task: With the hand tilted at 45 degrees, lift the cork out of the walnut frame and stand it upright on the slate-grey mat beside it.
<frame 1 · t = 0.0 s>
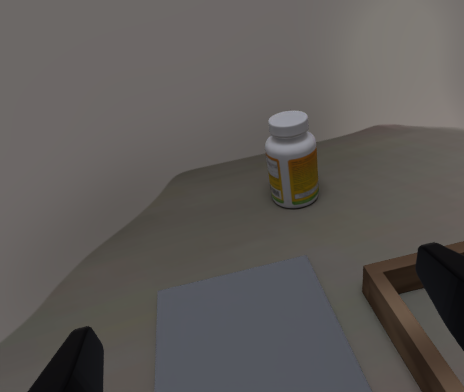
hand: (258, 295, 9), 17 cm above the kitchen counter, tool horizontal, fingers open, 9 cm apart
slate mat: (247, 343, 27), on the kitchen counter
supplement bottle: (295, 197, 41), on the kitchen counter
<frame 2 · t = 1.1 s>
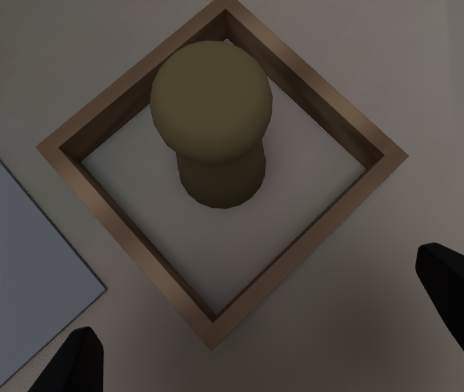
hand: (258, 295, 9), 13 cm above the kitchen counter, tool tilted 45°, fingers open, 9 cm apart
walnut frame: (222, 165, 24), on the kitchen counter
cork: (222, 166, 24), resting in walnut frame
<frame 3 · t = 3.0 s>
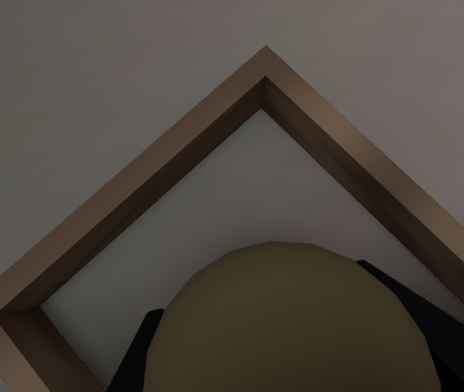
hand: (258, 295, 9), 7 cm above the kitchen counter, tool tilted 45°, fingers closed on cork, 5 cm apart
walnut frame: (257, 314, 16), on the kitchen counter
cork: (257, 313, 16), resting in walnut frame, touching gripper
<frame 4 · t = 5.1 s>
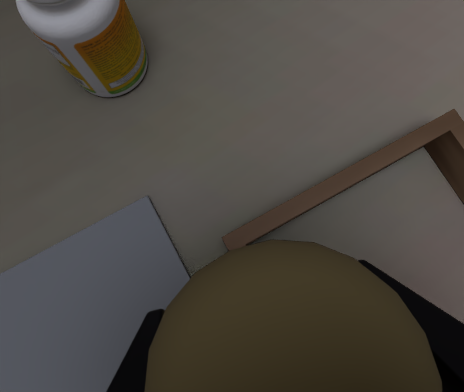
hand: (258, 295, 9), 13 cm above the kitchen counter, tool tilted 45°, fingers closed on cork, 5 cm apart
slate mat: (97, 347, 22), on the kitchen counter
walnut frame: (395, 290, 22), on the kitchen counter
cork: (258, 312, 16), point 6 cm above the kitchen counter, touching gripper
supplement bottle: (113, 66, 26), on the kitchen counter
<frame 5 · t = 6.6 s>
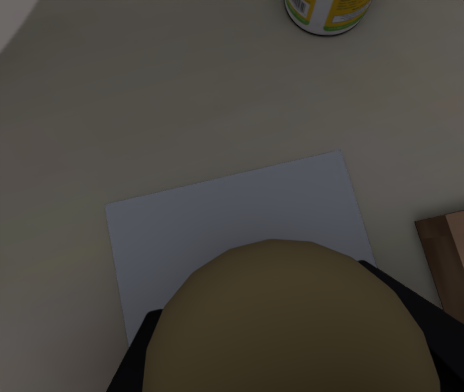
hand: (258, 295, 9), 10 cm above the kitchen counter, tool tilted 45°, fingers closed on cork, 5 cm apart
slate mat: (252, 298, 19), on the kitchen counter
cork: (257, 312, 16), point 4 cm above the kitchen counter, touching gripper
supplement bottle: (323, 3, 23), on the kitchen counter
when the fingers open (8 cm above the kitchen counter, at t = 7.5 s): cork stays where it is, resting on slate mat.
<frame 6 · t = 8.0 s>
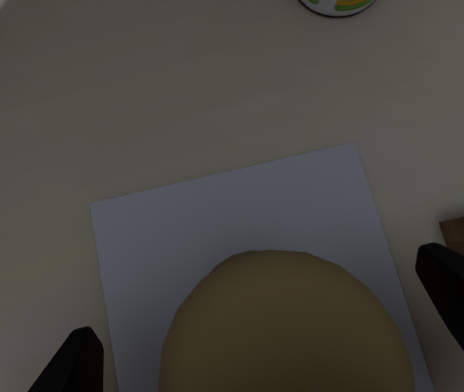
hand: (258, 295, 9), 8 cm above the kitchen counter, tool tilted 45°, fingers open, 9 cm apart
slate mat: (256, 310, 17), on the kitchen counter
cork: (257, 314, 17), resting on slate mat
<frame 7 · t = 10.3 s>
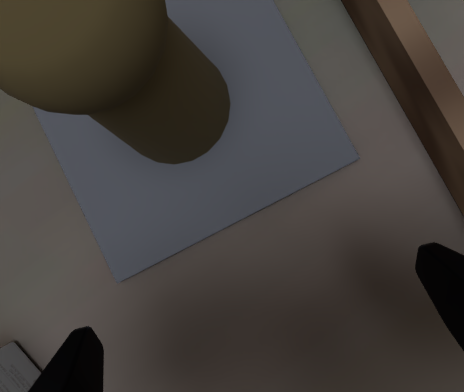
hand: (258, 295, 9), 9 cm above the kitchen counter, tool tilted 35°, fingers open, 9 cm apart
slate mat: (174, 106, 19), on the kitchen counter
cork: (174, 107, 19), resting on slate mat
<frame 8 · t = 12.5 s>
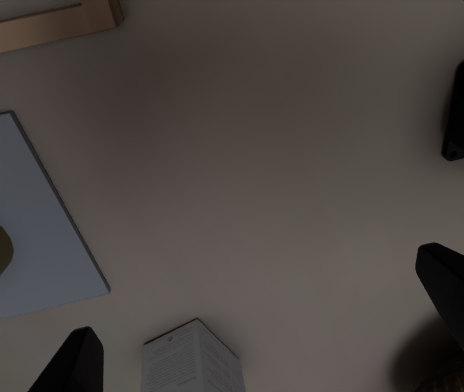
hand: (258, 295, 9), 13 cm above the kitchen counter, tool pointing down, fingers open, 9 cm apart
small box: (194, 349, 32), on the kitchen counter
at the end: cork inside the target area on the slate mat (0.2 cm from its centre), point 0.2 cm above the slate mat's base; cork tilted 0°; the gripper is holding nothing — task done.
